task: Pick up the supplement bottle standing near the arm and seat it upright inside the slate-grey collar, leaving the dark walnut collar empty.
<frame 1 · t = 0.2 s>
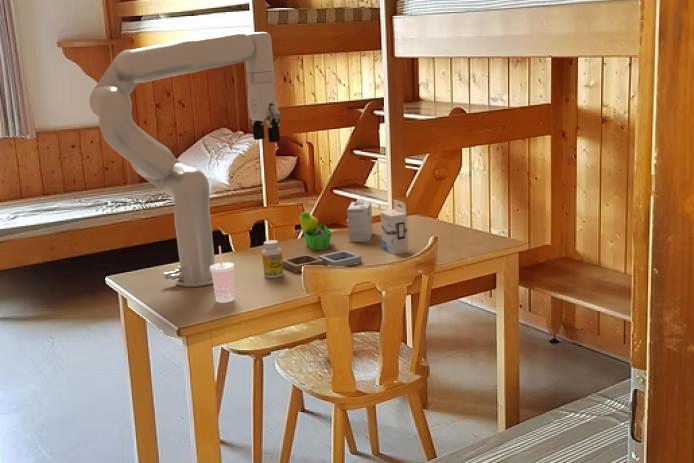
hand: (266, 140, 230), 36 cm above the table, tool pointing down, fingers open, 9 cm apart
grey collar: (340, 262, 236), on the table
walnut collar: (302, 266, 234), on the table
ink box: (395, 251, 245), on the table
fruit basket: (315, 246, 256), on the table
beverage cup: (225, 300, 209), on the table
light bulb box: (361, 238, 263), on the table
supplement bottle: (274, 276, 228), on the table
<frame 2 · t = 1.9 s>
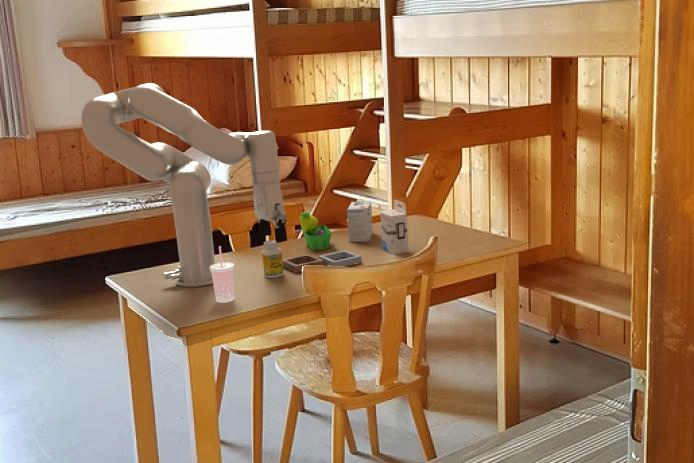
hand: (273, 238, 225), 10 cm above the table, tool pointing down, fingers open, 9 cm apart
nothing on the table moved.
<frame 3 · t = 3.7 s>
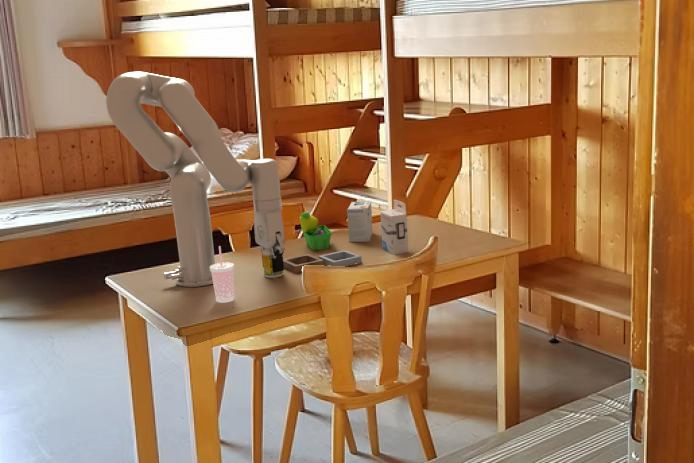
hand: (273, 268, 227), 2 cm above the table, tool pointing down, fingers closed on supplement bottle, 5 cm apart
supplement bottle: (274, 276, 228), on the table, touching gripper
everything else where it was.
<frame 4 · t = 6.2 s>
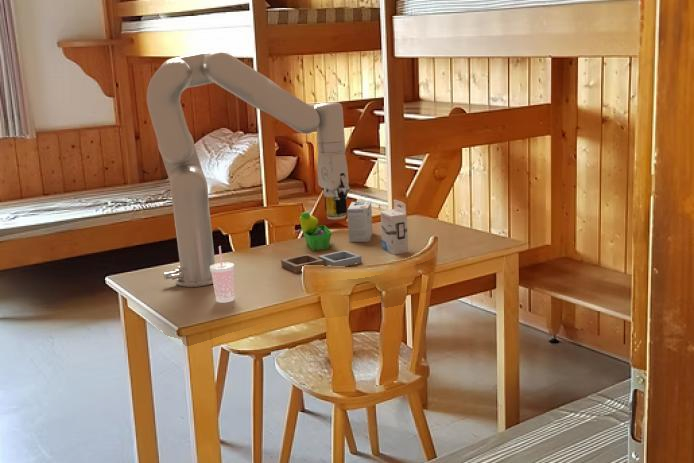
hand: (336, 211, 232), 15 cm above the table, tool pointing down, fingers closed on supplement bottle, 5 cm apart
supplement bottle: (336, 218, 233), point 13 cm above the table, touching gripper
everything else where it was.
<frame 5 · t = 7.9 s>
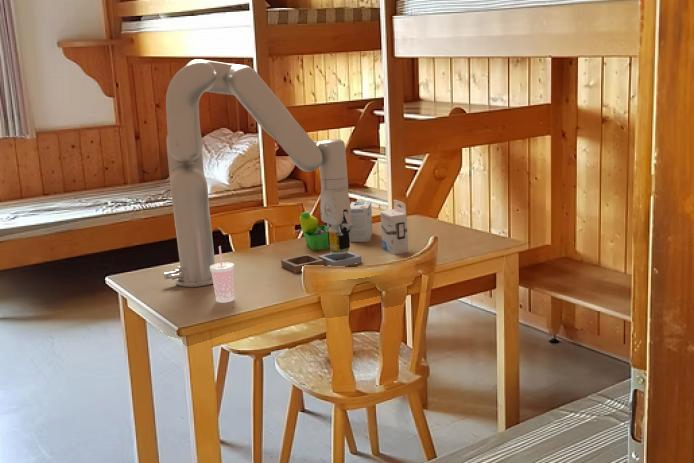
hand: (339, 245, 234), 5 cm above the table, tool pointing down, fingers closed on supplement bottle, 5 cm apart
supplement bottle: (339, 252, 235), point 3 cm above the table, touching gripper
everything else where it was.
when the fingers open (3 cm above the table, at t = 9.2 s): supplement bottle stays where it is, resting in grey collar.
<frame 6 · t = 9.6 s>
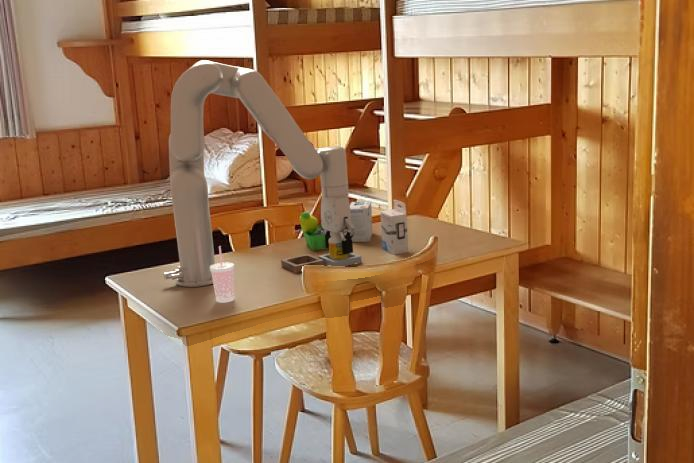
hand: (339, 250, 235), 4 cm above the table, tool pointing down, fingers open, 9 cm apart
supplement bottle: (339, 263, 236), resting in grey collar
everything else where it was.
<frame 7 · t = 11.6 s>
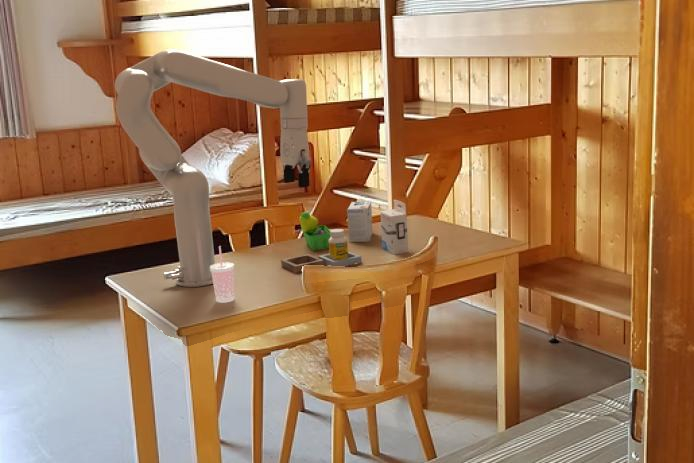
hand: (296, 184, 234), 23 cm above the table, tool pointing down, fingers open, 9 cm apart
nothing on the table moved.
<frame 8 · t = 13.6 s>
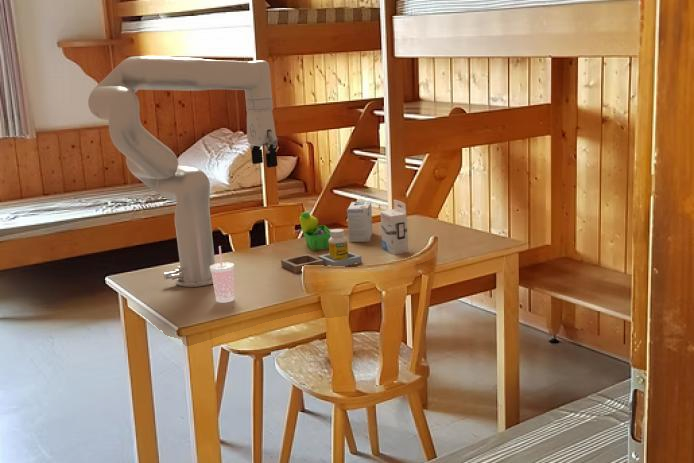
hand: (264, 165, 237), 28 cm above the table, tool pointing down, fingers open, 9 cm apart
nothing on the table moved.
at the end: supplement bottle 0.2 cm off-centre on the grey collar, point 0.0 cm above the grey collar's base; supplement bottle tilted 0°; the gripper is holding nothing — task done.
